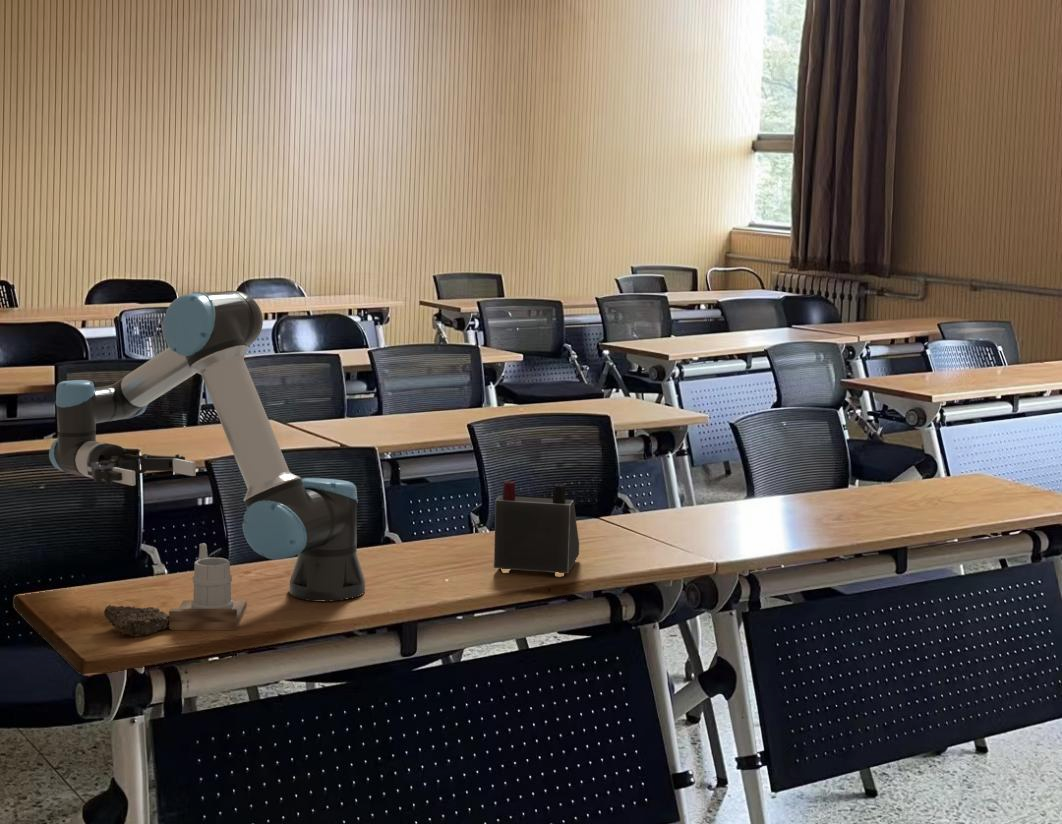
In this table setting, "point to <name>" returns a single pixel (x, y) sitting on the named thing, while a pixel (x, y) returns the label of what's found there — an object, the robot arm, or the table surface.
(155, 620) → the concrete sample
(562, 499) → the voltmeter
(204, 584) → the mug
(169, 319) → the robot arm
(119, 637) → the table surface
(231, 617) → the rest board
